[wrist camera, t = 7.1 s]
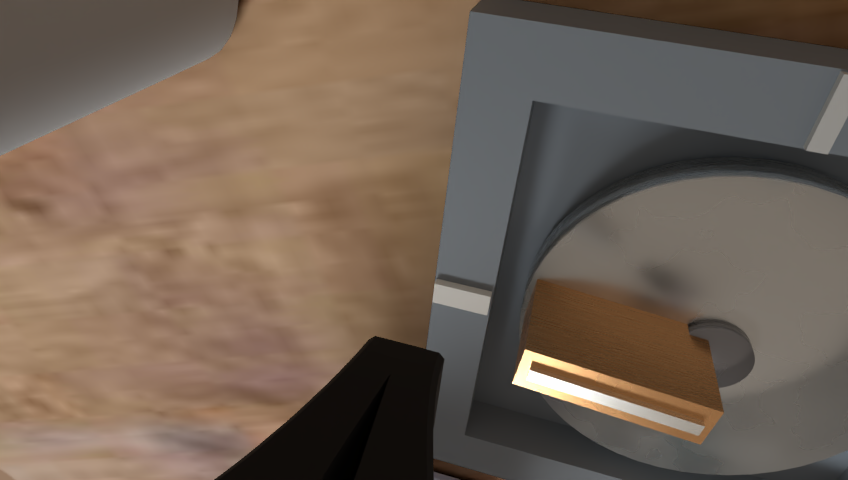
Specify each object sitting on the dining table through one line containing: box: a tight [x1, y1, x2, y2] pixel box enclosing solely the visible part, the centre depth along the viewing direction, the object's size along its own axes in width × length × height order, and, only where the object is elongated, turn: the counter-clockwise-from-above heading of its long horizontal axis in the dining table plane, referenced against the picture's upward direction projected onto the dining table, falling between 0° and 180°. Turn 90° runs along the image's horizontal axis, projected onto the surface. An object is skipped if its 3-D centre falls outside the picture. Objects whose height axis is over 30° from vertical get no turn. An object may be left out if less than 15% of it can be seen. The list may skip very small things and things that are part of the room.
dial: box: [512, 157, 848, 475], centre depth 17 cm, size 12×12×5 cm
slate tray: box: [426, 0, 848, 480], centre depth 19 cm, size 18×18×3 cm
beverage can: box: [0, 0, 239, 156], centre depth 14 cm, size 5×5×12 cm
